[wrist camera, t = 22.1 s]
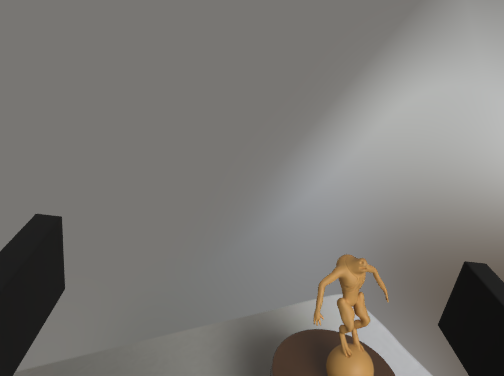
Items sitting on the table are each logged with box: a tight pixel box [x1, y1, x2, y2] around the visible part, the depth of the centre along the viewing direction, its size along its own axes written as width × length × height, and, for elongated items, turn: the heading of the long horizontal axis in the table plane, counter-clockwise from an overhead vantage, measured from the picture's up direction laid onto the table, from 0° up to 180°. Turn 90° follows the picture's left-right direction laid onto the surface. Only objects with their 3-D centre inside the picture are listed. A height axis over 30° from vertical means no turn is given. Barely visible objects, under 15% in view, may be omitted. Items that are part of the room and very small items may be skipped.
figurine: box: [314, 255, 388, 376], centre depth 35 cm, size 8×6×12 cm
